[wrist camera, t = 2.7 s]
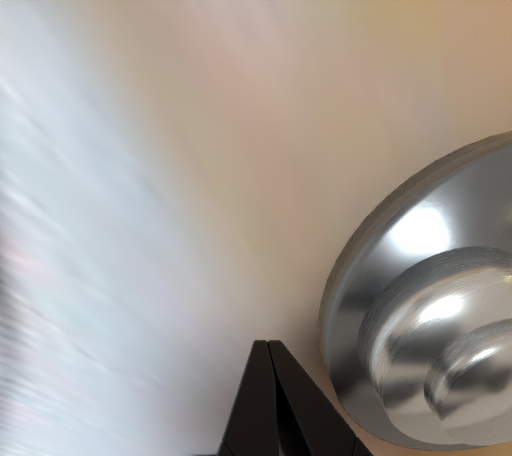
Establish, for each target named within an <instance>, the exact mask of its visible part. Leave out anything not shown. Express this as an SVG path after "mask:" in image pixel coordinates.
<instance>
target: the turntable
mask: <svg viewBox="0 0 512 456" xmlns="http://www.w3.org/2000/svg"><path fill="white" fill-rule="evenodd" d="M473 246H484V247H492V248H497V249H501V250H504V251H507V252H509V253H511V254H512V131H510V132H506V133H502V134H498V135H494V136H490V137H487V138H485V139H482V140H480V141H477V142H474V143H472V144H469V145H466V146H464V147H461V148H460V149H458V150H456V151H454V152H452V153H450V154H448V155H446V156H444V157H442V158H440V159H438V160H436V161H434V162H433V163H431V164H430V165H428V166H427V167H425V168H424V169H422V170H421V171H419V172H418V173H416V174H415V175H413V176H412V177H410V178H409V179H408V180H406V181H405V182H404V183H403V184H402V185H400V186H399V187H398V188H397V189H396V190H394V191H393V192H392V193H391V194H389V195H388V196H387V197H386V198H385V199H384V200H383V201H382V202H381V203H380V204H379V205H378V206H377V207H376V208H375V209H374V210H373V211H372V212H371V213H370V214H369V215H368V216H367V217H366V219H365V220H364V221H363V222H362V224H361V225H360V226H359V228H358V229H357V230H356V231H355V233H354V234H353V235H352V236H351V238H350V239H349V241H348V242H347V244H346V246H345V247H344V249H343V251H342V252H341V254H340V255H339V257H338V259H337V260H336V263H335V265H334V267H333V269H332V271H331V274H330V276H329V278H328V280H327V283H326V286H325V290H324V293H323V296H322V300H321V305H320V311H319V318H318V339H319V345H320V350H321V355H322V358H323V360H324V363H325V366H326V368H327V371H328V374H329V376H330V379H331V381H332V384H333V387H334V389H335V392H336V394H337V397H338V400H339V401H340V403H341V404H342V406H343V408H344V409H345V411H346V412H347V414H348V415H349V416H350V417H351V418H352V419H353V420H354V421H355V422H356V423H357V424H358V425H359V426H361V427H362V428H363V429H365V430H366V431H367V432H369V433H370V434H372V435H374V436H376V437H378V438H380V439H382V440H384V441H387V442H390V443H392V444H395V445H398V446H403V447H407V448H412V449H419V450H428V451H453V450H465V449H472V448H478V447H484V446H476V445H468V444H433V443H427V442H423V441H419V440H416V439H414V438H411V437H409V436H407V435H406V434H404V433H402V432H401V431H400V430H399V429H397V428H396V427H395V426H394V424H393V423H392V422H391V421H390V419H389V417H388V415H387V413H386V411H385V409H384V407H383V405H382V404H381V402H380V400H379V398H378V396H377V394H376V392H375V390H374V388H373V386H372V384H371V383H370V381H369V379H368V377H367V375H366V373H365V371H364V369H363V367H362V365H361V363H360V360H359V357H358V351H357V339H358V333H359V329H360V326H361V323H362V320H363V318H364V316H365V314H366V312H367V310H368V308H369V307H370V305H371V304H372V302H373V301H374V299H375V298H376V297H377V296H378V294H379V293H380V292H381V291H382V290H383V289H384V288H385V287H386V286H387V285H388V284H389V283H390V282H391V281H392V280H393V279H394V278H396V277H397V276H398V275H400V274H401V273H402V272H404V271H405V270H407V269H408V268H410V267H412V266H413V265H415V264H416V263H418V262H420V261H422V260H424V259H426V258H429V257H431V256H433V255H436V254H439V253H442V252H444V251H448V250H453V249H457V248H463V247H473ZM487 446H489V445H487Z"/></svg>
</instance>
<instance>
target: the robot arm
mask: <svg viewBox="0 0 512 456" xmlns="http://www.w3.org/2000/svg"><path fill="white" fill-rule="evenodd" d="M217 456H373V455H372V454H371V452H370V451H369V450H368V449H367V447H366V446H365V445H364V444H363V442H362V441H361V440H360V439H359V438H358V437H356V434H355V433H354V431H353V430H352V429H351V428H350V426H349V425H348V424H347V423H346V421H345V420H344V419H343V418H342V416H341V415H340V414H339V413H338V411H337V410H336V409H335V408H334V407H333V405H332V404H331V403H330V402H329V400H328V399H327V398H326V397H325V395H324V394H323V393H322V392H321V390H320V389H319V388H318V387H317V385H316V384H315V383H314V382H313V380H312V379H311V378H310V377H309V375H308V374H307V373H306V372H305V370H304V369H303V368H302V367H301V365H300V364H299V363H298V362H297V360H296V359H295V358H294V357H293V355H292V354H291V353H290V352H289V350H288V349H287V348H286V347H285V345H284V344H283V343H282V342H281V341H280V340H269V341H266V340H255V341H254V342H253V345H252V348H251V351H250V354H249V357H248V360H247V364H246V367H245V370H244V373H243V376H242V379H241V382H240V385H239V388H238V391H237V395H236V398H235V401H234V404H233V407H232V410H231V413H230V416H229V419H228V422H227V425H226V429H225V432H224V435H223V438H222V442H221V443H220V446H219V450H218V453H217Z"/></svg>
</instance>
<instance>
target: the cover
mask: <svg viewBox="0 0 512 456" xmlns="http://www.w3.org/2000/svg"><path fill="white" fill-rule="evenodd" d="M357 351H358V357H359V360H360V363H361V365H362V367H363V369H364V371H365V373H366V375H367V377H368V379H369V381H370V383H371V384H372V386H373V388H374V390H375V392H376V394H377V396H378V398H379V400H380V402H381V404H382V405H383V407H384V409H385V411H386V413H387V415H388V417H389V419H390V421H391V422H392V423H393V424H394V426H395V427H396V428H397V429H399V430H400V431H401V432H402V433H404V434H406V435H407V436H409V437H411V438H414V439H416V440H419V441H423V442H427V443H433V444H468V445H476V446H487V445H496V444H502V443H506V442H510V441H512V254H511V253H509V252H507V251H504V250H501V249H497V248H492V247H484V246H473V247H463V248H457V249H453V250H448V251H444V252H442V253H439V254H436V255H433V256H431V257H429V258H426V259H424V260H422V261H420V262H418V263H416V264H415V265H413V266H412V267H410V268H408V269H407V270H405V271H404V272H402V273H401V274H400V275H398V276H397V277H396V278H394V279H393V280H392V281H391V282H390V283H389V284H388V285H387V286H386V287H385V288H384V289H383V290H382V291H381V292H380V293H379V294H378V296H377V297H376V298H375V299H374V301H373V302H372V304H371V305H370V307H369V308H368V310H367V312H366V314H365V316H364V318H363V320H362V323H361V326H360V329H359V333H358V339H357Z"/></svg>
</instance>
